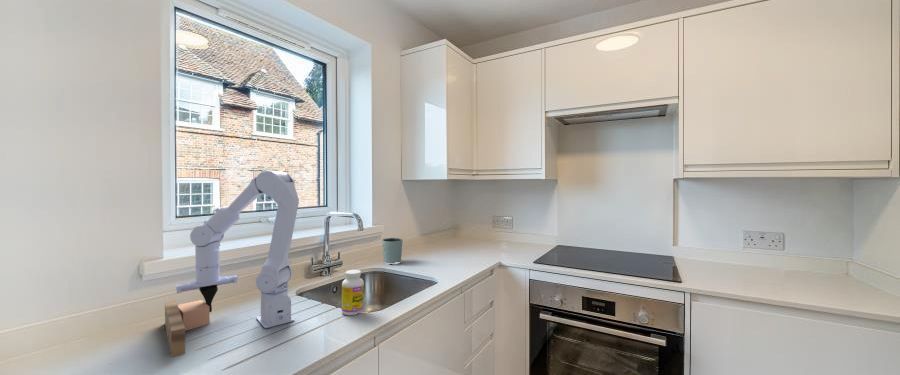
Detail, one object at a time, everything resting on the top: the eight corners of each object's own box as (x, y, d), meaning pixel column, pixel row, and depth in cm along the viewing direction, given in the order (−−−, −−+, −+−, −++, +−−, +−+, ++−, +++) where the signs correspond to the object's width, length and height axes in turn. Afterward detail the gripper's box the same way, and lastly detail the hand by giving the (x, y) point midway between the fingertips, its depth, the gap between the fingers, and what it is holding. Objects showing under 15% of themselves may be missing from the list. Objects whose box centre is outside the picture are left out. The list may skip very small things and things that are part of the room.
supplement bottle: (351, 317, 101) (352, 275, 101) (337, 313, 105) (337, 272, 104) (367, 310, 107) (368, 270, 106) (353, 306, 110) (353, 267, 110)
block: (209, 323, 95) (209, 306, 95) (183, 330, 91) (183, 312, 91) (201, 316, 101) (201, 299, 101) (176, 322, 96) (176, 305, 96)
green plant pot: (403, 260, 173) (403, 237, 173) (401, 265, 163) (401, 241, 163) (383, 260, 173) (383, 237, 172) (380, 265, 162) (380, 241, 162)
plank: (185, 353, 79) (185, 328, 79) (171, 356, 78) (171, 331, 77) (176, 321, 97) (176, 300, 97) (164, 323, 95) (164, 302, 95)
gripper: (233, 259, 106) (234, 301, 106) (174, 267, 96) (175, 314, 96) (238, 263, 101) (239, 307, 101) (177, 272, 91) (177, 321, 91)
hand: (208, 311), depth 98 cm, fingers closed, pressing on block
